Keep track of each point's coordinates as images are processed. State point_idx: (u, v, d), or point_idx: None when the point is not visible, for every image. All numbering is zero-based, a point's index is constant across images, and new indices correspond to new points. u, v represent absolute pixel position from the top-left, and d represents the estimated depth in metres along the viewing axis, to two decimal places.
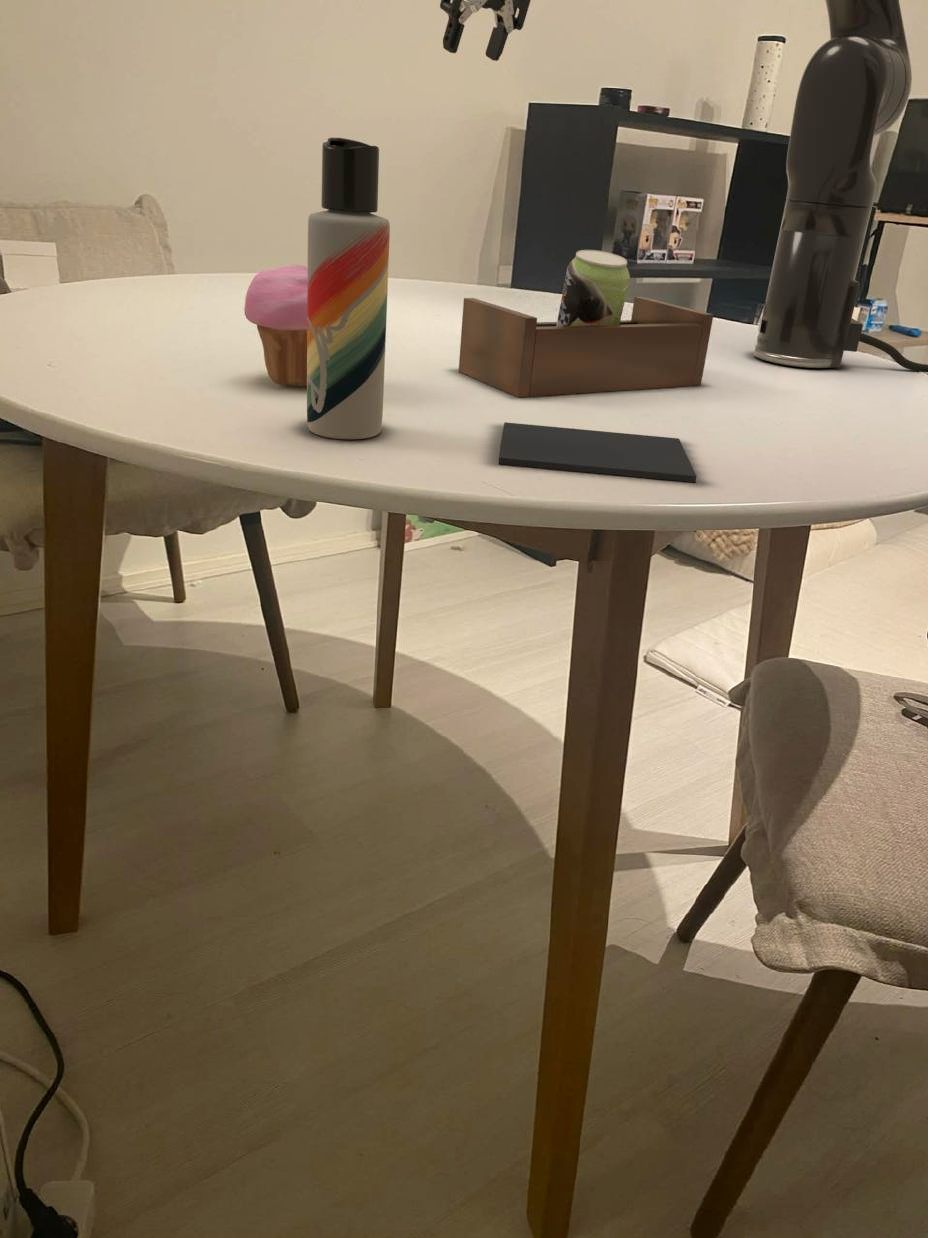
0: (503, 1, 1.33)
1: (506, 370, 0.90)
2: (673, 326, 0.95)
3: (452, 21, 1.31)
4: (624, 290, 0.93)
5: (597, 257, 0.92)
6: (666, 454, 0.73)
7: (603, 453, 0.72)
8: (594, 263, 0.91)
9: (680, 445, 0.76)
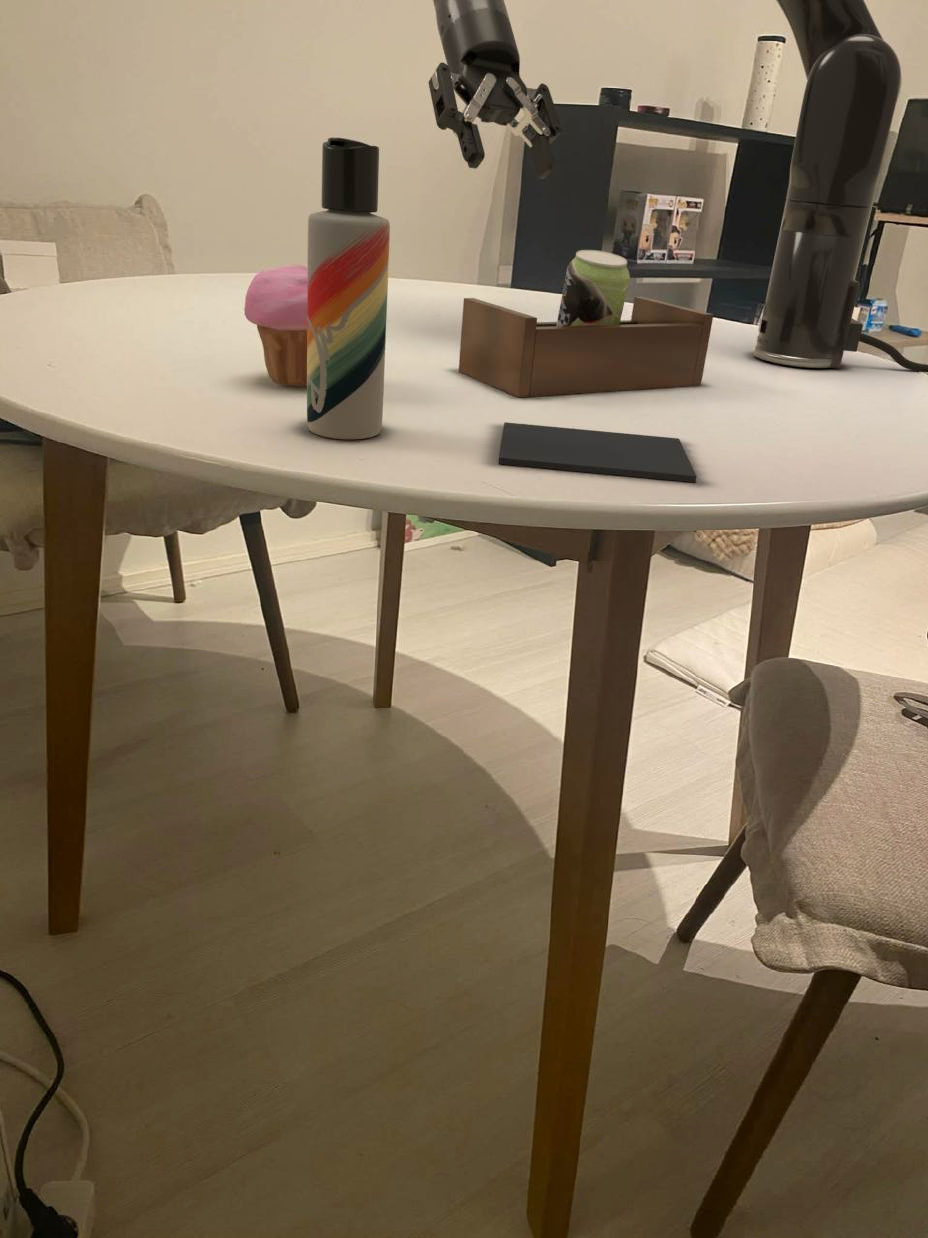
0: (515, 99, 1.02)
1: (506, 370, 0.90)
2: (673, 326, 0.95)
3: (460, 129, 0.99)
4: (624, 290, 0.93)
5: (597, 257, 0.92)
6: (666, 454, 0.73)
7: (603, 453, 0.72)
8: (594, 263, 0.91)
9: (680, 445, 0.76)
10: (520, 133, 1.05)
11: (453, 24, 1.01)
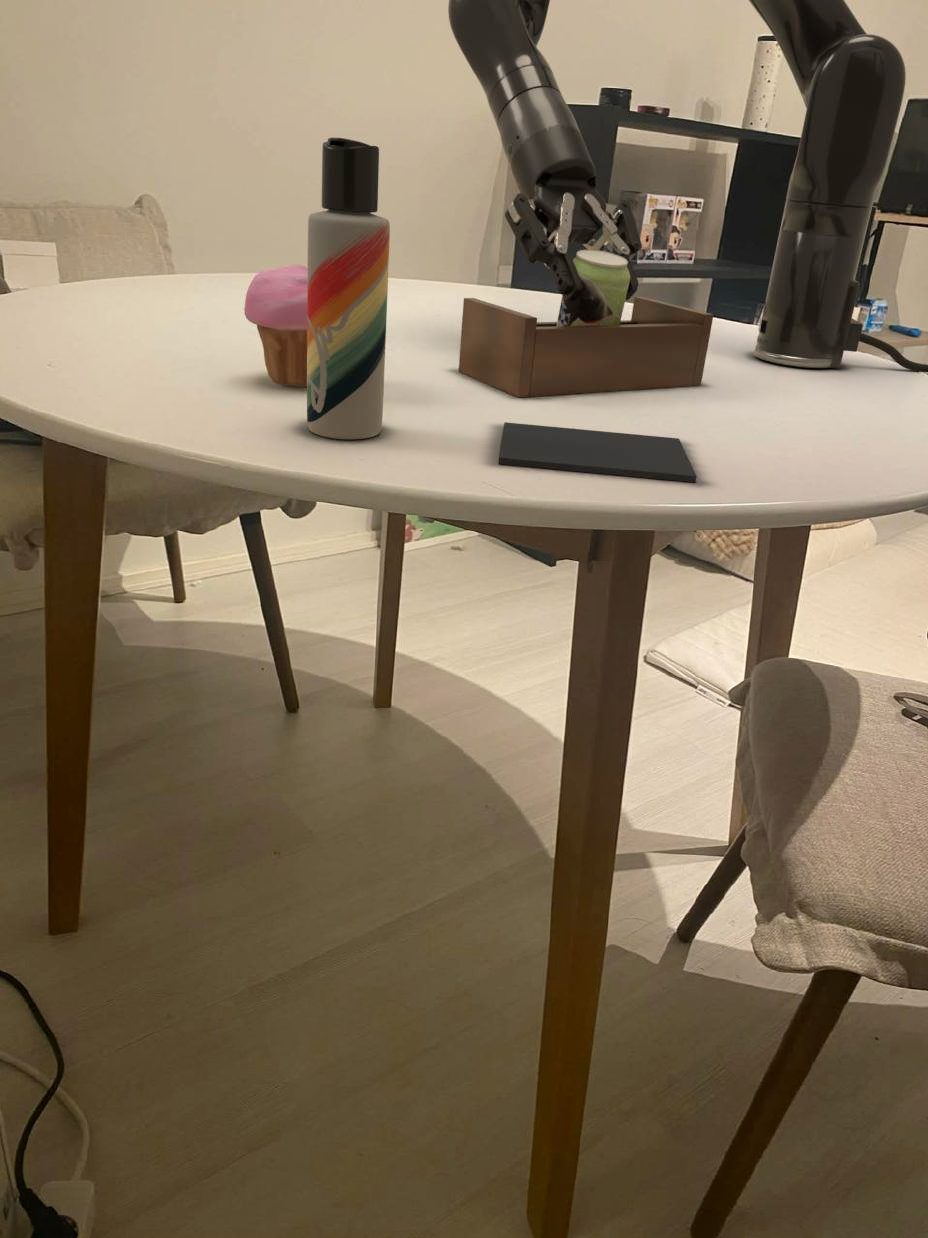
0: (593, 216, 0.95)
1: (506, 370, 0.90)
2: (673, 326, 0.95)
3: (553, 261, 0.92)
4: (625, 290, 0.93)
5: (597, 257, 0.92)
6: (666, 454, 0.73)
7: (603, 453, 0.72)
8: (594, 263, 0.91)
9: (680, 445, 0.76)
10: None
11: (522, 145, 0.94)
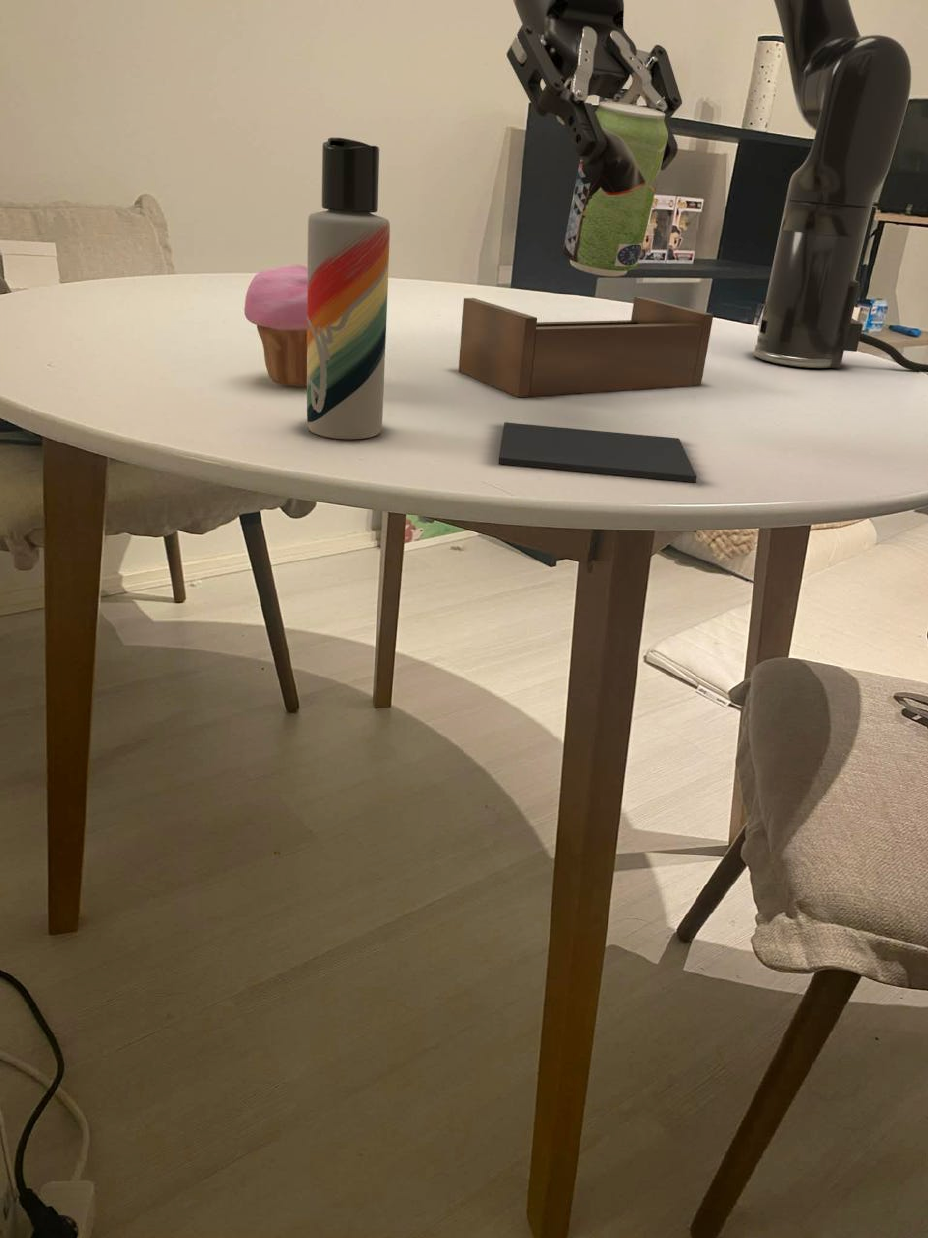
0: (620, 60, 0.74)
1: (506, 370, 0.90)
2: (673, 326, 0.95)
3: (569, 112, 0.71)
4: (661, 152, 0.72)
5: (626, 108, 0.71)
6: (666, 454, 0.73)
7: (603, 453, 0.72)
8: (623, 112, 0.69)
9: (680, 445, 0.76)
10: None
11: None
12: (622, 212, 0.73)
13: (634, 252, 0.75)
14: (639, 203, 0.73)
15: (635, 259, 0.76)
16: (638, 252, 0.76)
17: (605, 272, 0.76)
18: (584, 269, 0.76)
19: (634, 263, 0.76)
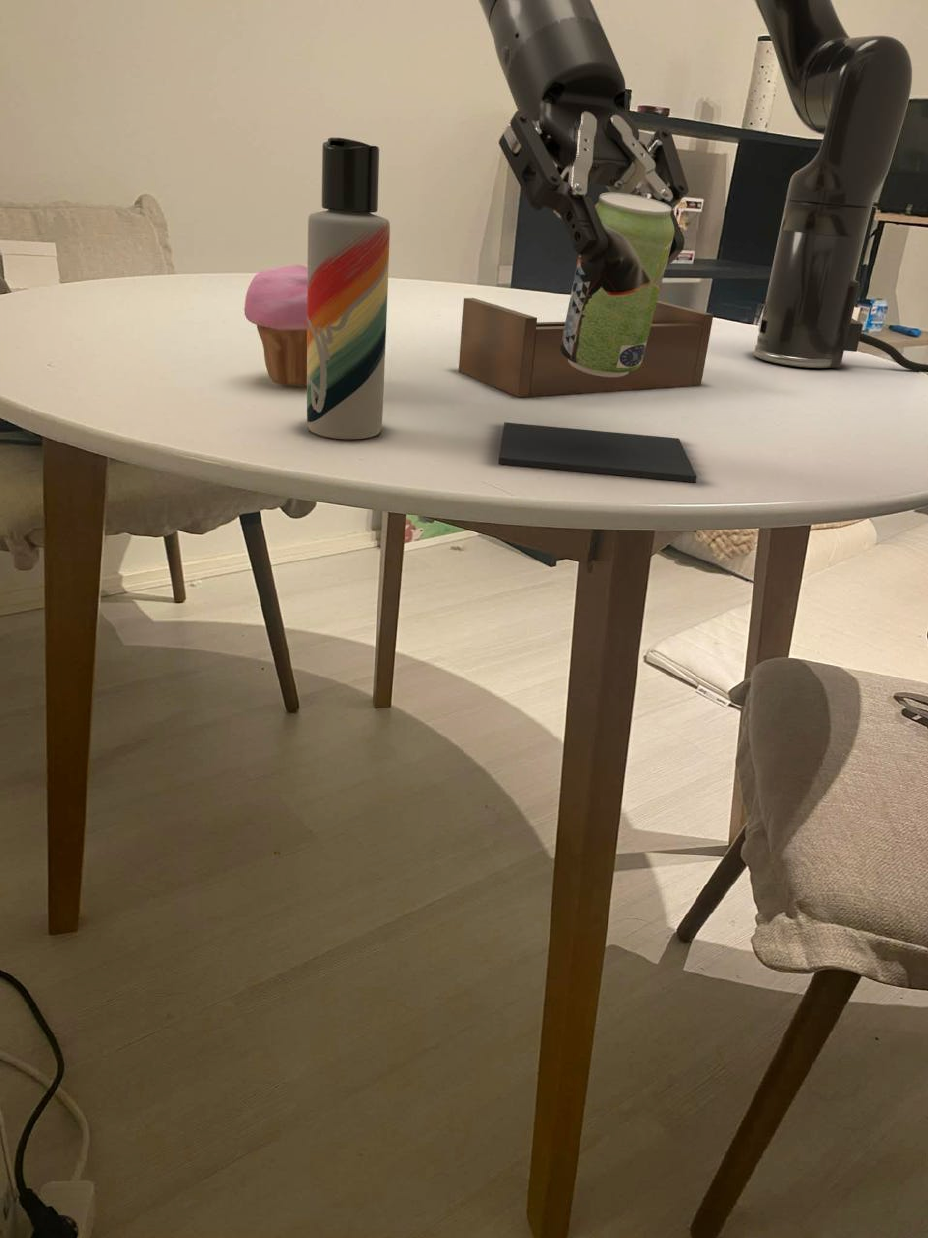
0: (622, 147, 0.68)
1: (506, 370, 0.90)
2: (673, 326, 0.95)
3: (567, 207, 0.65)
4: (667, 249, 0.66)
5: (629, 202, 0.66)
6: (666, 454, 0.73)
7: (603, 453, 0.72)
8: (626, 209, 0.64)
9: (680, 445, 0.76)
10: None
11: (523, 46, 0.67)
12: (624, 313, 0.67)
13: (638, 353, 0.69)
14: (643, 303, 0.67)
15: (639, 359, 0.70)
16: (642, 352, 0.70)
17: (606, 373, 0.70)
18: (583, 370, 0.70)
19: (637, 363, 0.70)
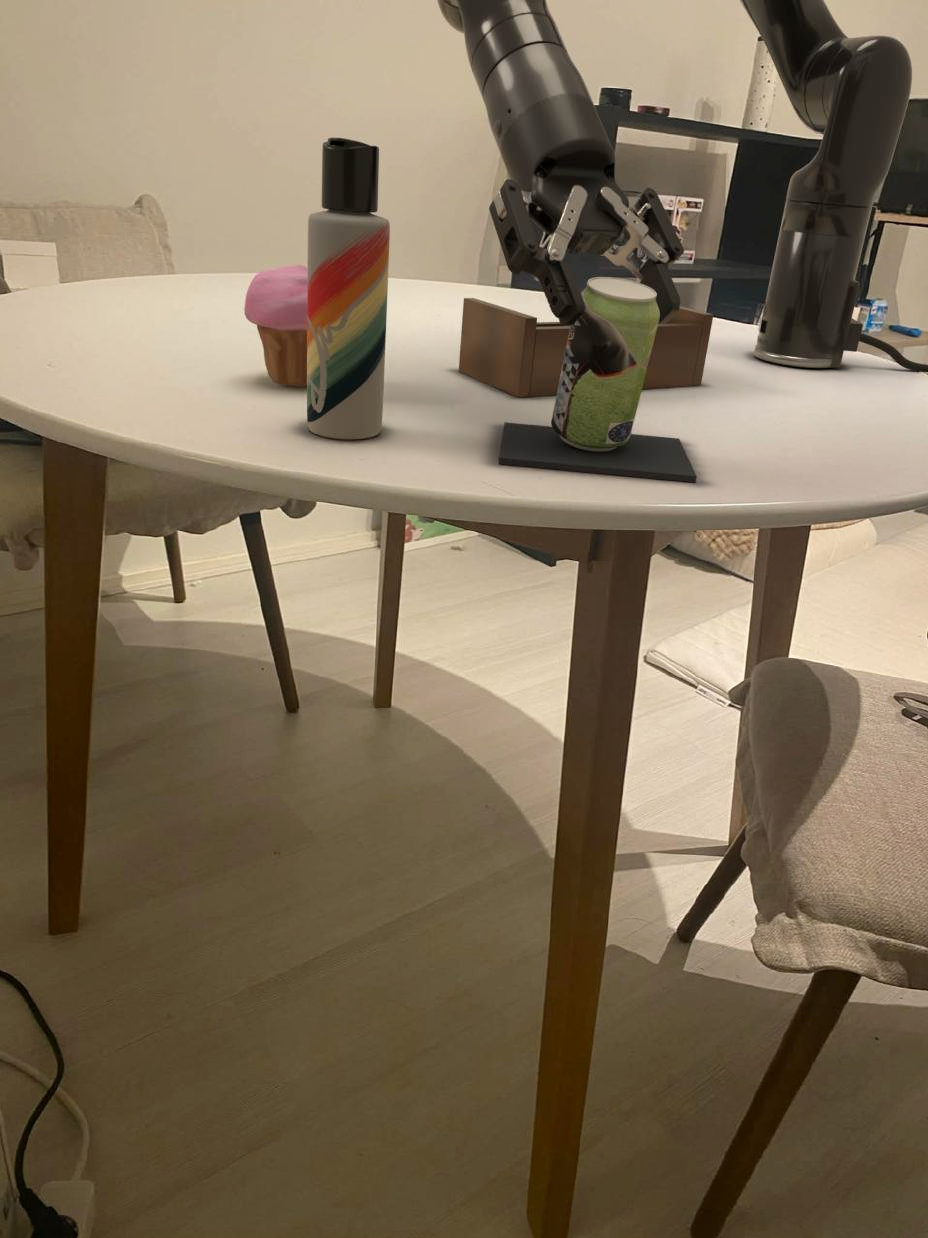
0: (615, 217, 0.70)
1: (506, 370, 0.90)
2: (673, 326, 0.95)
3: (545, 272, 0.67)
4: (653, 333, 0.68)
5: (616, 288, 0.68)
6: (666, 454, 0.73)
7: (603, 453, 0.72)
8: (612, 297, 0.66)
9: (680, 445, 0.76)
10: (624, 262, 0.72)
11: (516, 121, 0.70)
12: (612, 393, 0.69)
13: (626, 429, 0.72)
14: (630, 383, 0.69)
15: (627, 434, 0.72)
16: (630, 427, 0.72)
17: (595, 449, 0.72)
18: (574, 445, 0.73)
19: (626, 438, 0.73)
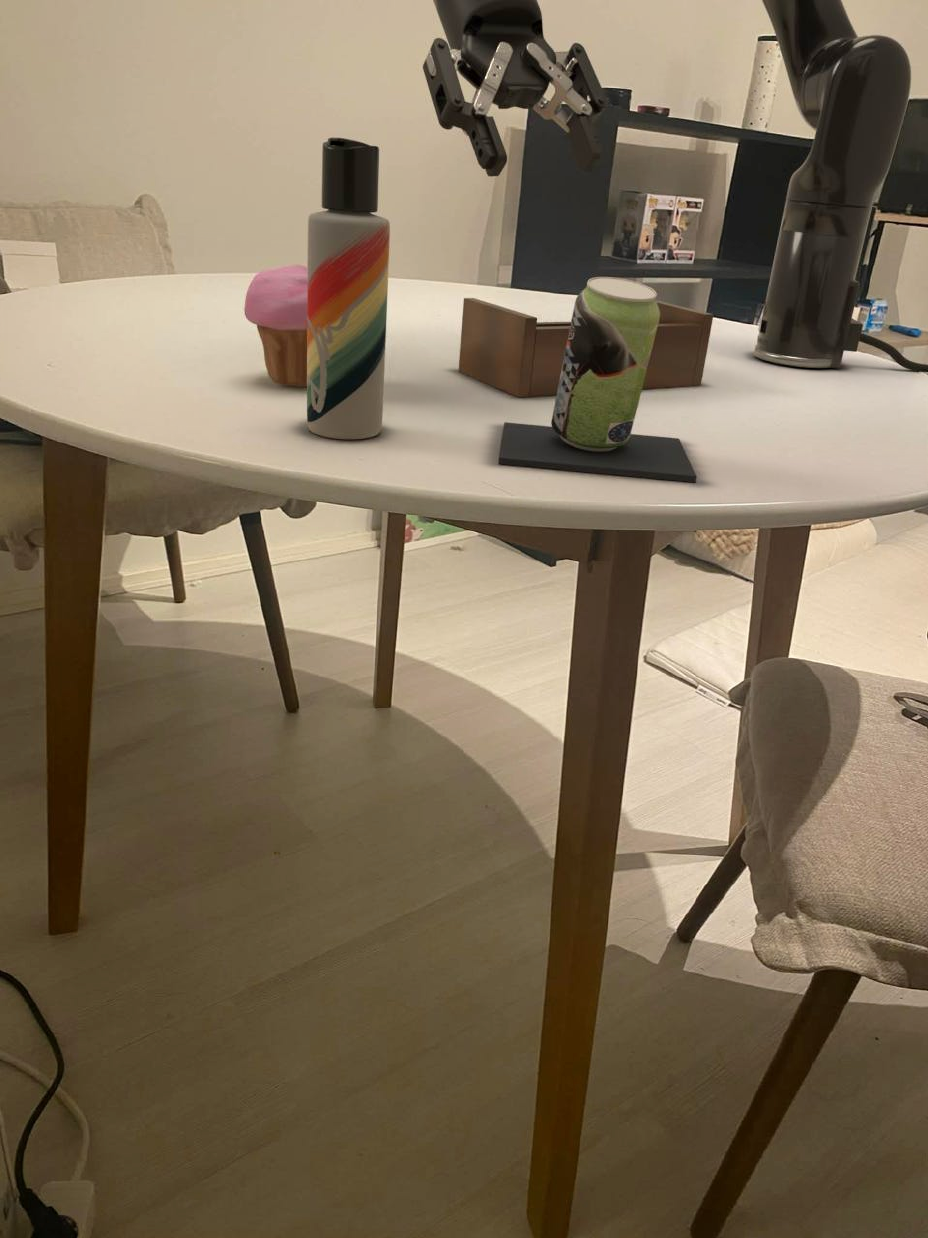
0: (540, 72, 0.76)
1: (506, 370, 0.90)
2: (673, 326, 0.95)
3: (471, 126, 0.73)
4: (653, 333, 0.68)
5: (616, 288, 0.68)
6: (666, 454, 0.73)
7: (603, 453, 0.72)
8: (612, 297, 0.66)
9: (680, 445, 0.76)
10: (552, 115, 0.78)
11: None
12: (612, 393, 0.69)
13: (626, 429, 0.72)
14: (630, 383, 0.69)
15: (627, 434, 0.72)
16: (630, 427, 0.72)
17: (595, 449, 0.72)
18: (574, 445, 0.73)
19: (626, 438, 0.73)
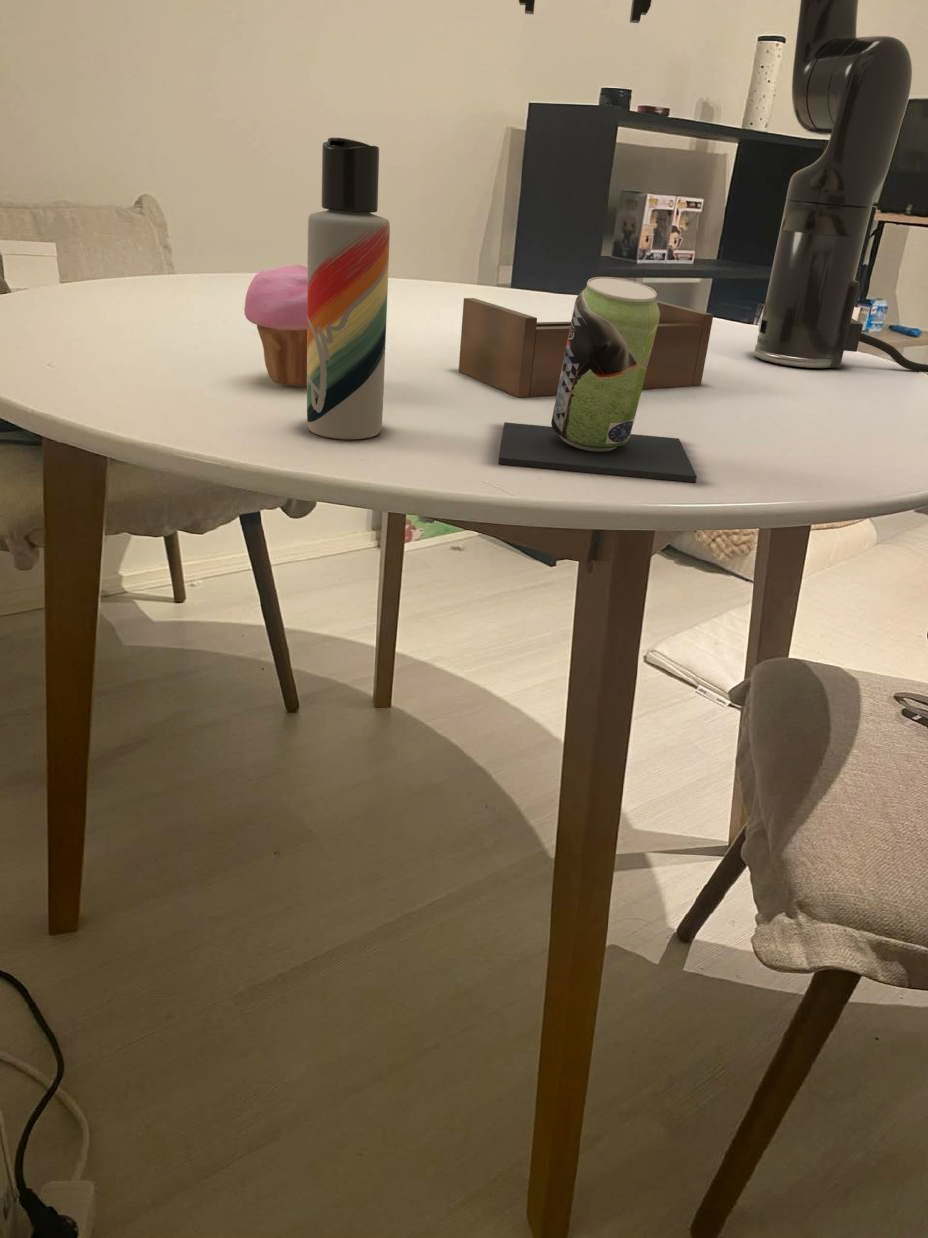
0: None
1: (506, 370, 0.90)
2: (673, 326, 0.95)
3: None
4: (653, 333, 0.68)
5: (616, 288, 0.68)
6: (666, 454, 0.73)
7: (603, 453, 0.72)
8: (612, 297, 0.66)
9: (680, 445, 0.76)
10: None
11: None
12: (612, 393, 0.69)
13: (626, 429, 0.72)
14: (630, 383, 0.69)
15: (627, 434, 0.72)
16: (630, 427, 0.72)
17: (595, 449, 0.72)
18: (574, 445, 0.73)
19: (626, 438, 0.73)
